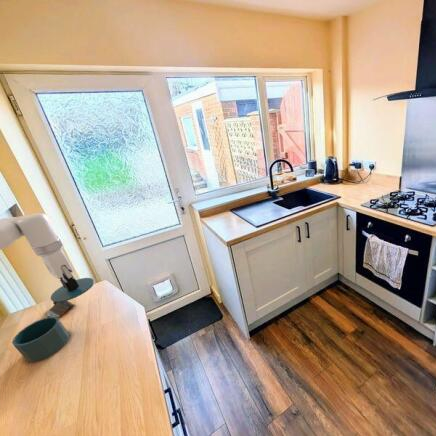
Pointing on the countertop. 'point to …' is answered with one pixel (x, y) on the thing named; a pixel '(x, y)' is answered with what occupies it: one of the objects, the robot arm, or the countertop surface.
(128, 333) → the countertop surface
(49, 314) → the chocolate cake
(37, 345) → the tin
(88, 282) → the lid
